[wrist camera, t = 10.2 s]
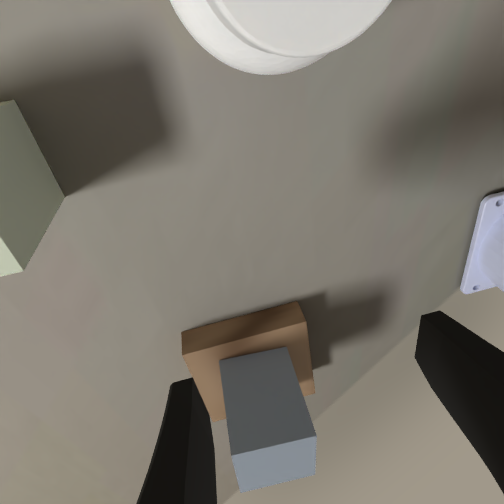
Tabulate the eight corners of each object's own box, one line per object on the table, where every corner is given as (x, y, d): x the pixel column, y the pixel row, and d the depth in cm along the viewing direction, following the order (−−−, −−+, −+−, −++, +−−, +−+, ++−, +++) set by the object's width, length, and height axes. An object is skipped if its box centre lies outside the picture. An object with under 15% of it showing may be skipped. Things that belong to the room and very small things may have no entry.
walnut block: (294, 295, 25) (306, 321, 23) (305, 366, 29) (315, 393, 27) (181, 326, 24) (182, 355, 22) (209, 392, 29) (213, 422, 27)
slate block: (286, 346, 23) (316, 436, 19) (288, 387, 26) (315, 474, 21) (218, 360, 23) (231, 455, 18) (227, 400, 26) (240, 492, 21)
